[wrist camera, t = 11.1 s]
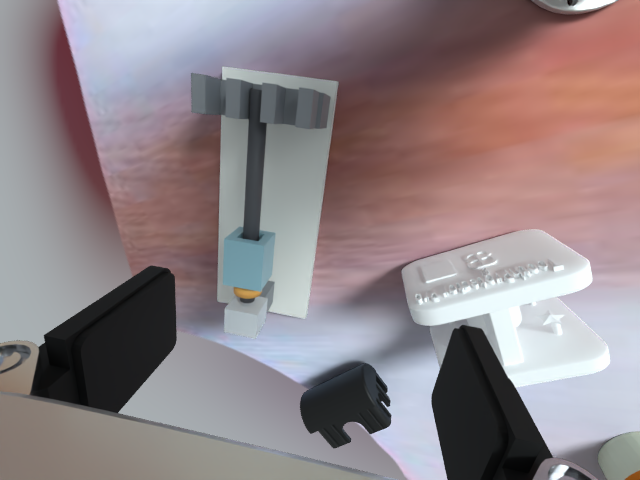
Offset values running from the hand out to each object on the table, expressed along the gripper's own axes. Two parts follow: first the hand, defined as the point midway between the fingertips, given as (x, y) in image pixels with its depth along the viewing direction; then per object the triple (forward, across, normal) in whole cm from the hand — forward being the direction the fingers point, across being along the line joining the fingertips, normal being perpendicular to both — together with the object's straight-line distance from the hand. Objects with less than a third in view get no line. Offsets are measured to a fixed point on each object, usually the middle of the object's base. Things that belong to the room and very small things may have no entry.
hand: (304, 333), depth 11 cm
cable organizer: (+29, -16, +9) cm, 34 cm away
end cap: (+29, -4, +28) cm, 40 cm away
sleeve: (+23, +9, +8) cm, 26 cm away
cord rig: (+28, +9, +4) cm, 30 cm away
